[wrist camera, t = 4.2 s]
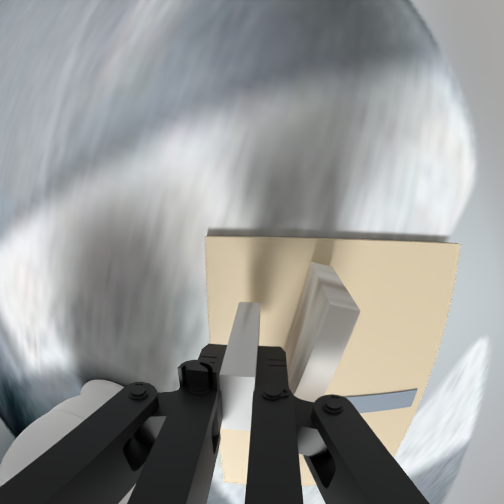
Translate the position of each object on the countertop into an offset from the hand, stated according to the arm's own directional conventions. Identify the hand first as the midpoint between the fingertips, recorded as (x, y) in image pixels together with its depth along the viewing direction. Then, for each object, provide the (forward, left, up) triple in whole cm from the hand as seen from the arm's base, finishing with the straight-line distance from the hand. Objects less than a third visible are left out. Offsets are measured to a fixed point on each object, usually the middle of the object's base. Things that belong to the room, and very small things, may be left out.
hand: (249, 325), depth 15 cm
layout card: (+7, +5, -2) cm, 9 cm away
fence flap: (+3, +2, -1) cm, 4 cm away
